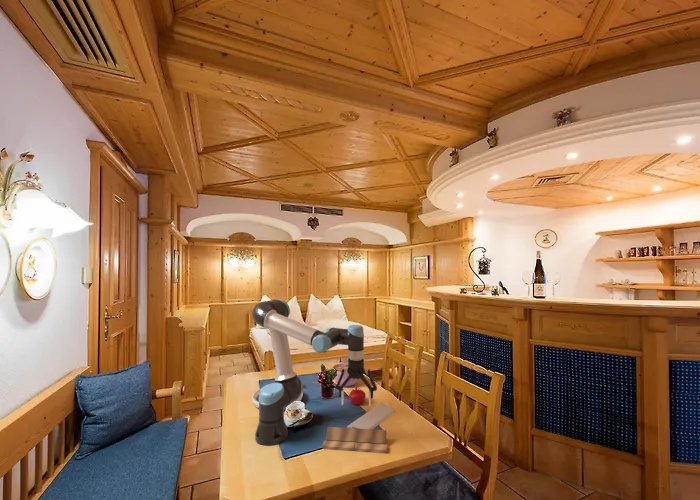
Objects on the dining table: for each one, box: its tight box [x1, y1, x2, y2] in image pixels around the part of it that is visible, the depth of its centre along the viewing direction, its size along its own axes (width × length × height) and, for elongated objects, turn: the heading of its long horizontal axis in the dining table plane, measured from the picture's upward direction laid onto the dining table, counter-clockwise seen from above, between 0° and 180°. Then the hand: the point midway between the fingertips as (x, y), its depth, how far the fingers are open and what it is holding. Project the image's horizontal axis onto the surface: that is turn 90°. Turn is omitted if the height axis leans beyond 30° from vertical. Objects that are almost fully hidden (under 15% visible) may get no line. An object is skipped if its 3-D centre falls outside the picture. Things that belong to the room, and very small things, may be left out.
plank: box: [325, 426, 387, 445], centre depth 147 cm, size 28×6×1 cm
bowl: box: [251, 387, 304, 411], centre depth 191 cm, size 30×30×8 cm
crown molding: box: [346, 402, 395, 430], centre depth 169 cm, size 29×12×4 cm, turn 144°
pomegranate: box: [348, 386, 366, 405], centre depth 189 cm, size 10×10×9 cm
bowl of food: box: [331, 362, 359, 388], centre depth 217 cm, size 20×20×12 cm
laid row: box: [321, 439, 388, 454], centre depth 142 cm, size 29×5×1 cm, turn 82°
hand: (356, 404), depth 149 cm, fingers open, 12 cm apart
